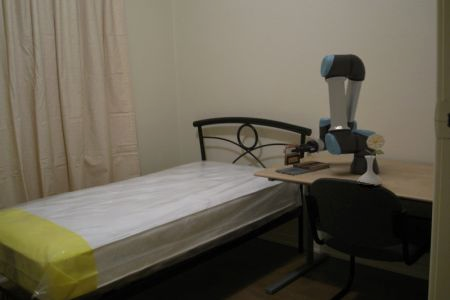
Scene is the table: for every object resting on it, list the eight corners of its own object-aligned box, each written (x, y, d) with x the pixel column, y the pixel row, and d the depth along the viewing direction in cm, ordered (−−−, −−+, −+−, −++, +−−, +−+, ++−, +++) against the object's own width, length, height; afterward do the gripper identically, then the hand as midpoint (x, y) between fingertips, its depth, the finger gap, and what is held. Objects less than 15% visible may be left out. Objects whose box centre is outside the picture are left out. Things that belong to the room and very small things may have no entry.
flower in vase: (352, 185, 203) (353, 133, 200) (365, 180, 211) (365, 131, 207) (377, 189, 194) (378, 135, 190) (390, 184, 201) (391, 132, 197)
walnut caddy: (329, 167, 246) (329, 163, 245) (310, 171, 237) (310, 167, 236) (311, 164, 257) (311, 160, 257) (292, 168, 248) (292, 164, 247)
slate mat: (309, 172, 236) (309, 170, 236) (293, 175, 229) (293, 173, 229) (292, 168, 248) (292, 166, 247) (275, 171, 240) (275, 170, 240)
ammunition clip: (297, 162, 242) (297, 141, 240) (300, 162, 240) (300, 142, 238) (284, 165, 236) (284, 143, 234) (286, 165, 234) (286, 144, 232)
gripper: (324, 154, 242) (294, 159, 228) (305, 151, 253) (276, 156, 240) (324, 141, 240) (294, 146, 227) (305, 138, 252) (275, 143, 239)
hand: (285, 151), depth 234 cm, fingers closed on ammunition clip, 2 cm apart
